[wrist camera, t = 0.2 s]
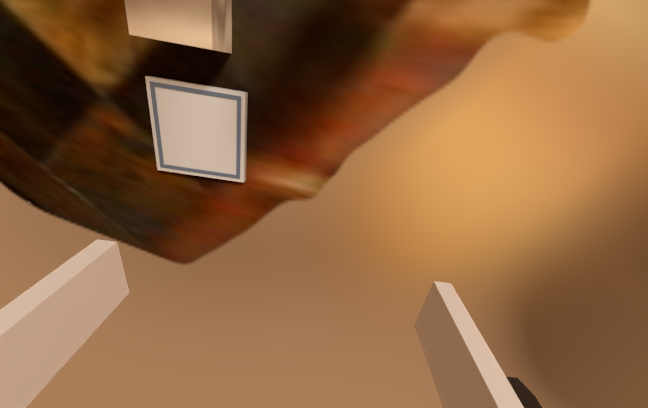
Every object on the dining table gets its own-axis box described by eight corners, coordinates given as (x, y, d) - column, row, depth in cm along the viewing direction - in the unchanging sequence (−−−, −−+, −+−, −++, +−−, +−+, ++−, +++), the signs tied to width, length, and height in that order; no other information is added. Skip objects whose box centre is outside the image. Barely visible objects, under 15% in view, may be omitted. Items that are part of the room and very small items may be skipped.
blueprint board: (149, 75, 32) (144, 75, 31) (247, 92, 33) (245, 92, 32) (161, 167, 38) (157, 170, 37) (245, 180, 38) (243, 182, 37)
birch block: (155, -48, 27) (113, -77, 22) (232, -32, 28) (209, -57, 23) (163, 41, 31) (129, 34, 26) (232, 53, 31) (212, 49, 26)
